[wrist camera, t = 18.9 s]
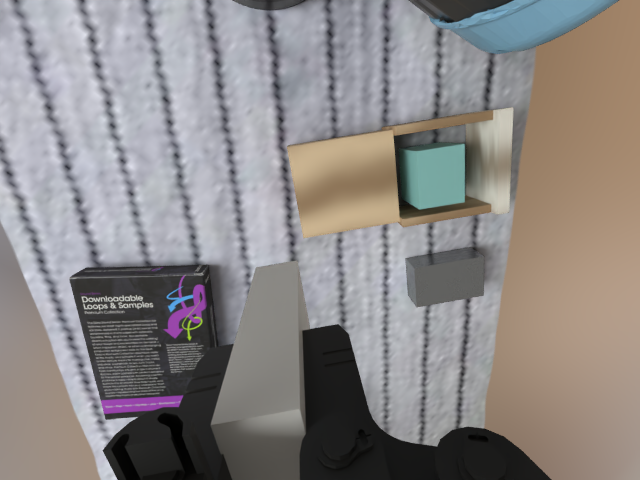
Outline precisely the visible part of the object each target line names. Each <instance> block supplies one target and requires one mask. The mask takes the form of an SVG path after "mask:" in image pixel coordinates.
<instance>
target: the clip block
mask: <svg viewBox="0 0 640 480" xmlns="http://www.w3.org/2000/svg"><path fill="white" fill-rule="evenodd" d="M399 163H400V179H401V194H402V199H403V200H405V201H406V202H408V203H410V204H411V205H413V206H415V207H416V208H418V209H419V210H420V209H426V208H432V207H438V206H444V205H450V204H456V203H462V202H465V144H460V143H444V142H438V143H432V144H425V145H419V146H413V147H407V148H400V149H399Z"/></svg>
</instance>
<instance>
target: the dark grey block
mask: <svg viewBox="0 0 640 480" xmlns="http://www.w3.org/2000/svg"><path fill="white" fill-rule="evenodd" d="M405 259H406V273H407V287H408V296H409V297H410V298H411V300H412V301H413V303H414V304H415V306H416V307H421V306H427V305H432V304H438V303H444V302H449V301H455V300H461V299H466V298H472V297H478V296H483V295H484V256H483V255H481V254H480V253H478V252H477V251H475V250H474V249H472V248H471V247H469V248H463V249H457V250H451V251H446V252H440V253H434V254H428V255H422V256H417V257H411V258H405Z"/></svg>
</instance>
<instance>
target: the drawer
mask: <svg viewBox="0 0 640 480" xmlns="http://www.w3.org/2000/svg"><path fill="white" fill-rule="evenodd" d="M463 124H466V195H465V202H462V203H456V204H450V205H444V206H438V207H432V208H426V209H420V210H419V209H418V208H416V207H415V206H413V205H405V206H399V202H398V189H397V176H396V162H395V149H394V136H393V135H402V134H408V133H415V132H421V131H427V130H433V129H439V128H445V127H451V126H457V125H463ZM512 130H513V107H512V108H503V109H495V110H486V111H478V112H472V113H465V114H459V115H453V116H447V117H441V118H435V119H429V120H423V121H416V122H410V123H404V124H398V125H392V126H386V127H382V130H380V131H374V132H368V133H362V134H356V135H349V136H343V137H337V138H331V139H325V140H319V141H313V142H307V143H301V144H294V145H288V146H287V149H288V155H289V160H290V166H291V171H292V177H293V182H294V188H295V193H296V199H297V205H298V210H299V216H300V221H301V227H302V232H303V238H307V237H313V236H319V235H325V234H331V233H336V232H342V231H348V230H354V229H360V228H366V227H372V226H378V225H383V224H389V223H395V222H398V223H399V224H400V225H401V226H402V227H407V226H413V225H419V224H425V223H431V222H437V221H443V220H448V219H454V218H460V217H466V216H472V215H478V214H484V213H489V212H492V213H494V214H497V215H498V214H504V213H509V205H510V180H511V155H512Z"/></svg>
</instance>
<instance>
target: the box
mask: <svg viewBox="0 0 640 480" xmlns="http://www.w3.org/2000/svg"><path fill="white" fill-rule="evenodd" d="M69 279H70V283H71V287H72V291H73V295H74V299H75V303H76V306H77V310H78V314H79V318H80V322H81V326H82V330H83V334H84V338H85V341H86V345H87V349H88V353H89V357H90V361H91V365H92V369H93V373H94V377H95V381H96V384H97V387H98V391H99V395H100V399H101V403H102V407H103V411H104V415H105V419H106V420H107V419H108V420H110V419H116V418H129V417H140V416H142V415H143V414H145V413H147V412H150V411H153V410H156V409H159V408H162V407H179V405H180V402H181V400H182V398H183V395H185V393H186V392H185V391H186V388H187V386H188V384H189V381H191V377H192V374H193V372H194V370H195V367H196V365H197V362H198V361H199V360H200V359H201V358H202V357H203V356H204V355H205V354H206V353H207V351H208V350H209V349H210V348H214V347H218V341H217V332H216V324H215V315H214V307H213V298H212V290H211V281H210V273H209V265H188V266H150V267H105V268H85V269H83V270H81V271H79V272H78V273H76V274H74V275H73V276H71V277H70V278H69Z"/></svg>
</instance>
